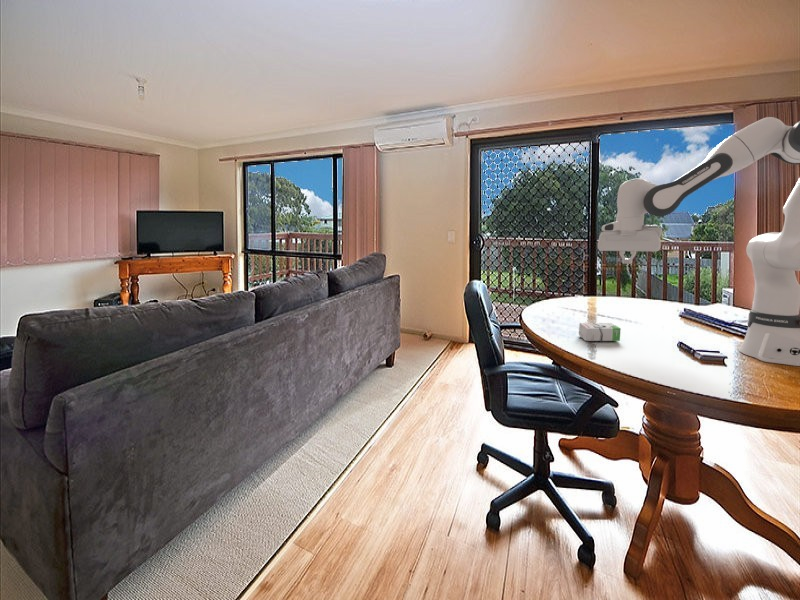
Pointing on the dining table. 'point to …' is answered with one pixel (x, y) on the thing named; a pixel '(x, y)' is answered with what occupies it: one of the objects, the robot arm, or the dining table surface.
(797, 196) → the robot arm
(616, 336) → the ink box
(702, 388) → the dining table surface
